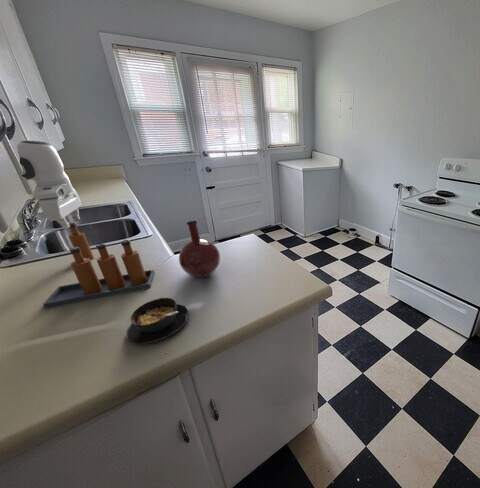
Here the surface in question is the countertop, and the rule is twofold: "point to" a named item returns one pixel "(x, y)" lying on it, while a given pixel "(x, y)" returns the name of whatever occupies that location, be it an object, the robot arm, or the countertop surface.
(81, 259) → the bottle
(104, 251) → the bottle
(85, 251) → the loose bottle
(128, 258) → the bottle
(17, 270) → the countertop surface
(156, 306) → the soup bowl
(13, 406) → the countertop surface
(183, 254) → the round-bottom flask
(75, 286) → the tray
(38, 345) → the countertop surface
